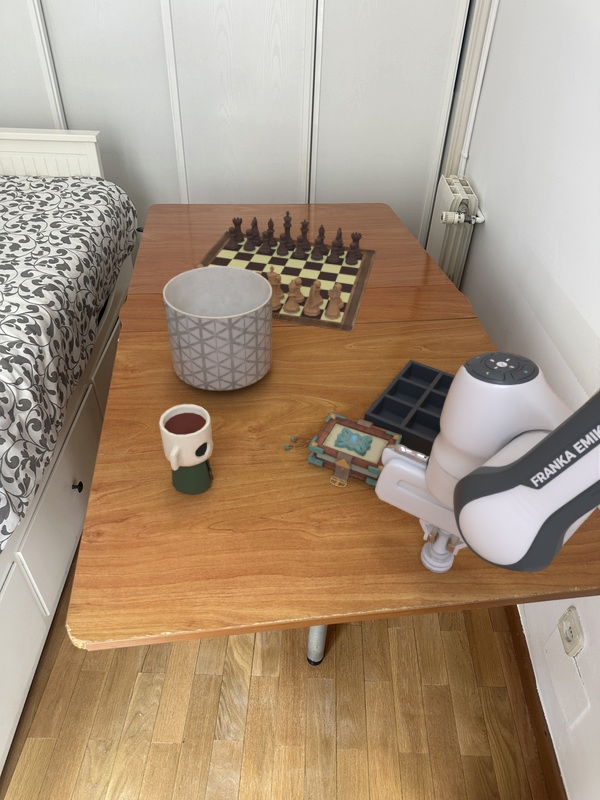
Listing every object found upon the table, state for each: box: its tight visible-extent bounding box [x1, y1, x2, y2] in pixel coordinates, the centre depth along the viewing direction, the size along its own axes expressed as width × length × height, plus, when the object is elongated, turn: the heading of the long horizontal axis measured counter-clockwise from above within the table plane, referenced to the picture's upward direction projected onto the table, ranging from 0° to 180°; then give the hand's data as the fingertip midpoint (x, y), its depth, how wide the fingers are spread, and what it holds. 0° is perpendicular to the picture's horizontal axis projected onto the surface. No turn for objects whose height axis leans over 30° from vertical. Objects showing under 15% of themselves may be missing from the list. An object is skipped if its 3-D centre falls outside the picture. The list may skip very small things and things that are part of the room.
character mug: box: [158, 403, 214, 496], centre depth 80 cm, size 11×7×13 cm, turn 168°
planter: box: [162, 266, 273, 392], centre depth 100 cm, size 19×19×18 cm
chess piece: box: [419, 527, 455, 574], centre depth 71 cm, size 4×4×10 cm
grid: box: [363, 359, 456, 457], centre depth 96 cm, size 20×20×4 cm
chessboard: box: [162, 210, 377, 333], centre depth 136 cm, size 45×45×10 cm
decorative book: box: [284, 412, 402, 488], centre depth 88 cm, size 13×18×5 cm
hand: (441, 544), depth 72 cm, fingers closed on chess piece, 2 cm apart
